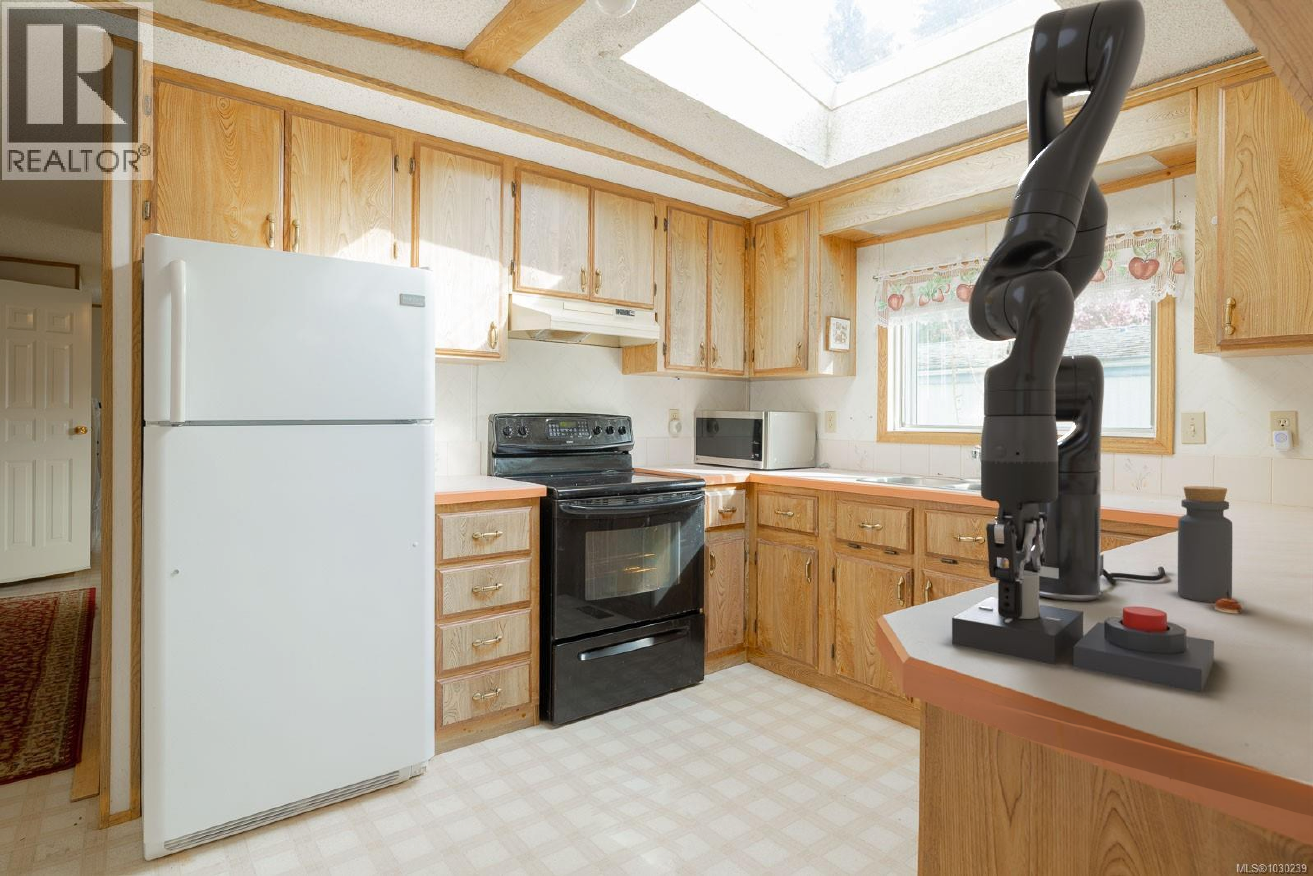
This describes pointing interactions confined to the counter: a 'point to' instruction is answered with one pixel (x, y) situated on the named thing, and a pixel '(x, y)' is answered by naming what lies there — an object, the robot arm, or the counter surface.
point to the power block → (1146, 654)
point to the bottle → (1204, 545)
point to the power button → (1144, 618)
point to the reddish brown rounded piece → (1228, 605)
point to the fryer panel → (1018, 631)
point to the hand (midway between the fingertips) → (1018, 610)
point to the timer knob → (1030, 595)
